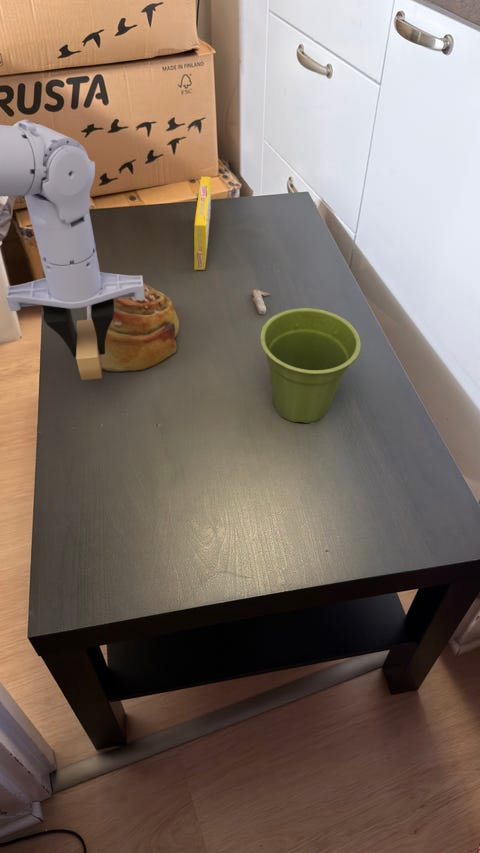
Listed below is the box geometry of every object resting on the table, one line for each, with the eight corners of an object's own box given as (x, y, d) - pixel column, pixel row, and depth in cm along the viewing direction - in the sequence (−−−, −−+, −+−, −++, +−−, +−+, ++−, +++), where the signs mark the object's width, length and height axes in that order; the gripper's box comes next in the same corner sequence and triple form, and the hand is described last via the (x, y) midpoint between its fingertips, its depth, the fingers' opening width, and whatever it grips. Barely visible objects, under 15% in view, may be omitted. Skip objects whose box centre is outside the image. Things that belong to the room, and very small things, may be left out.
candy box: (207, 271, 102) (205, 225, 96) (194, 271, 102) (191, 225, 96) (212, 219, 113) (211, 175, 106) (200, 219, 113) (198, 175, 107)
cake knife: (102, 378, 73) (97, 356, 71) (81, 380, 73) (76, 358, 71) (99, 284, 86) (95, 262, 83) (82, 285, 86) (77, 264, 83)
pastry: (177, 302, 96) (174, 257, 90) (183, 368, 86) (179, 322, 80) (90, 308, 95) (81, 262, 89) (86, 375, 85) (75, 329, 79)
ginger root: (277, 311, 94) (258, 310, 93) (276, 315, 95) (257, 315, 94) (268, 288, 98) (250, 288, 97) (267, 293, 99) (249, 292, 98)
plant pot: (327, 451, 77) (340, 385, 68) (241, 418, 80) (243, 352, 72) (359, 390, 84) (374, 324, 75) (279, 363, 87) (285, 297, 79)
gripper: (136, 224, 68) (148, 323, 78) (-2, 234, 66) (29, 334, 76) (140, 261, 63) (152, 361, 73) (-8, 272, 61) (25, 373, 71)
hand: (89, 350), depth 74 cm, fingers closed on cake knife, 2 cm apart
